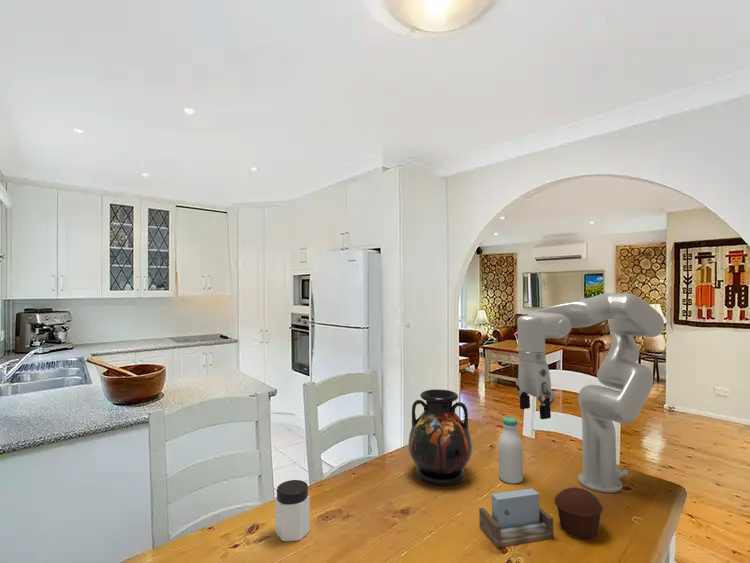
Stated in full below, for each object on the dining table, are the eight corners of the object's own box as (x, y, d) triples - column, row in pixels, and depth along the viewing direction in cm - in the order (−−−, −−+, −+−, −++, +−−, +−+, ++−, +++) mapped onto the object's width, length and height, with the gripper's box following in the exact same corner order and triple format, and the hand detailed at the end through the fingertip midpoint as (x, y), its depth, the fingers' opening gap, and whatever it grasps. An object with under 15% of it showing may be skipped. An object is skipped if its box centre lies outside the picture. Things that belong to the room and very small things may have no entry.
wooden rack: (532, 518, 113) (532, 500, 113) (553, 538, 104) (553, 518, 104) (479, 526, 110) (479, 508, 110) (496, 547, 101) (496, 527, 101)
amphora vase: (403, 487, 132) (402, 400, 132) (413, 459, 153) (412, 384, 153) (472, 494, 127) (471, 404, 127) (472, 465, 147) (471, 387, 148)
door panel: (532, 522, 110) (532, 488, 110) (540, 529, 106) (540, 494, 107) (492, 528, 107) (491, 493, 107) (498, 536, 104) (498, 500, 104)
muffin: (575, 545, 101) (574, 505, 101) (545, 521, 112) (544, 484, 112) (613, 537, 104) (613, 498, 105) (580, 514, 115) (580, 478, 115)
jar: (310, 522, 113) (310, 478, 113) (308, 540, 104) (308, 493, 105) (277, 524, 112) (277, 480, 112) (273, 543, 104) (272, 495, 104)
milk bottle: (524, 485, 132) (523, 423, 132) (500, 483, 134) (499, 422, 134) (521, 474, 140) (520, 415, 140) (497, 472, 141) (496, 414, 141)
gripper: (562, 360, 115) (565, 421, 115) (525, 350, 132) (528, 403, 132) (539, 363, 113) (542, 424, 113) (505, 353, 130) (507, 406, 130)
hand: (534, 413), depth 123 cm, fingers open, 9 cm apart
